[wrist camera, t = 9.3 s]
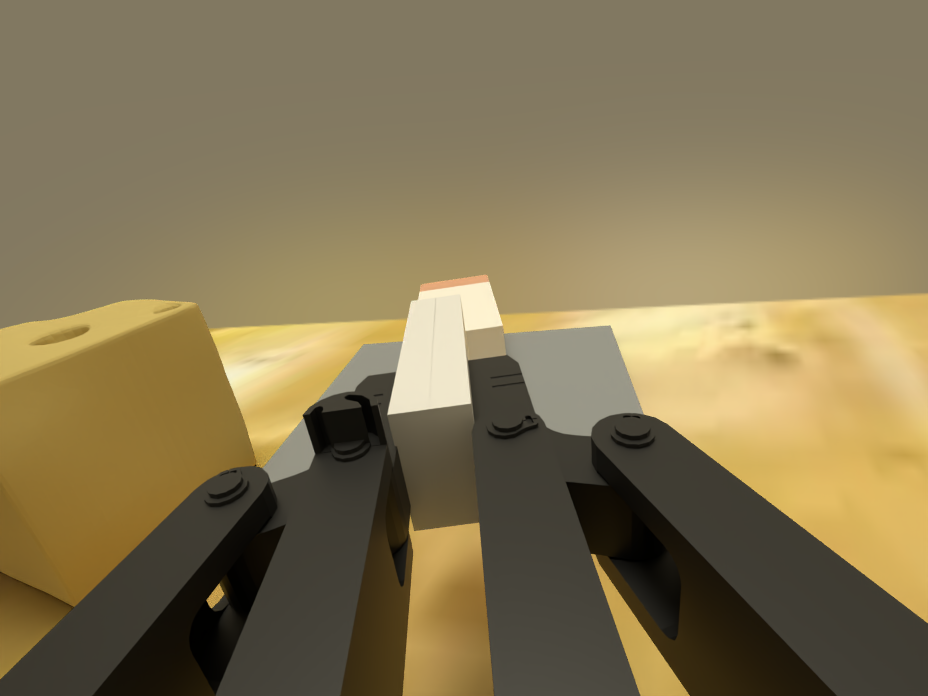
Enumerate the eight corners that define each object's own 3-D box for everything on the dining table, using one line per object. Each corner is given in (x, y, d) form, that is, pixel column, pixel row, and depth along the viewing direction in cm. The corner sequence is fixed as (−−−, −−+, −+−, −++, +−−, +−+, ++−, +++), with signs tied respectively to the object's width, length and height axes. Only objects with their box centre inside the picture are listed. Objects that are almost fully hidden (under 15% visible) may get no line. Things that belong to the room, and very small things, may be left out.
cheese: (152, 439, 31) (84, 295, 27) (272, 463, 27) (210, 294, 23) (-50, 563, 23) (-192, 380, 19) (75, 629, 18) (-77, 405, 14)
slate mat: (248, 499, 24) (244, 490, 24) (365, 351, 40) (363, 344, 40) (668, 493, 20) (669, 482, 20) (610, 332, 37) (610, 325, 36)
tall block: (411, 338, 26) (421, 284, 36) (426, 417, 28) (432, 344, 38) (502, 325, 26) (486, 274, 36) (512, 405, 28) (494, 335, 38)
